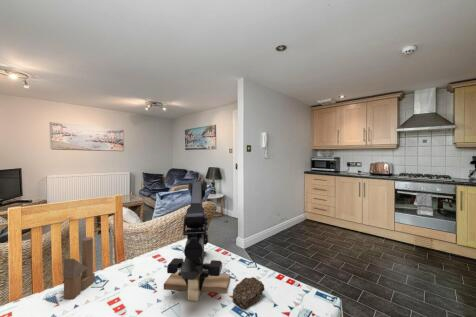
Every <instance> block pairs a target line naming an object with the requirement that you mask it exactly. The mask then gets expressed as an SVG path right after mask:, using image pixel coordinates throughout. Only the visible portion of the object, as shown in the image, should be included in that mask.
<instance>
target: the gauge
mask: <svg viewBox="0 0 476 317" xmlns="http://www.w3.org/2000/svg"><path fill="white" fill-rule="evenodd" d="M199 285H200V274H199V275H198V276H196V278H195V279H193V280H191V279H188V291H187V301H194V302H199V299H200V297H201V294H202V293H203V292H202V289H201V292H200V291H199Z"/></svg>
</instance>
